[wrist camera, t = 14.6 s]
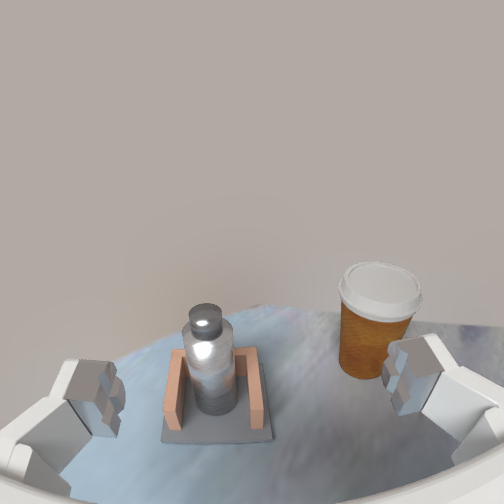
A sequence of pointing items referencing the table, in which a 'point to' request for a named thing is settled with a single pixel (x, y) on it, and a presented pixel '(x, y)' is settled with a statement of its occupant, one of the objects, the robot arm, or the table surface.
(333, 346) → the table surface
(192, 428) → the dock
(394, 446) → the table surface
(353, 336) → the disposable coffee cup
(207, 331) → the silver water flask
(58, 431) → the robot arm
